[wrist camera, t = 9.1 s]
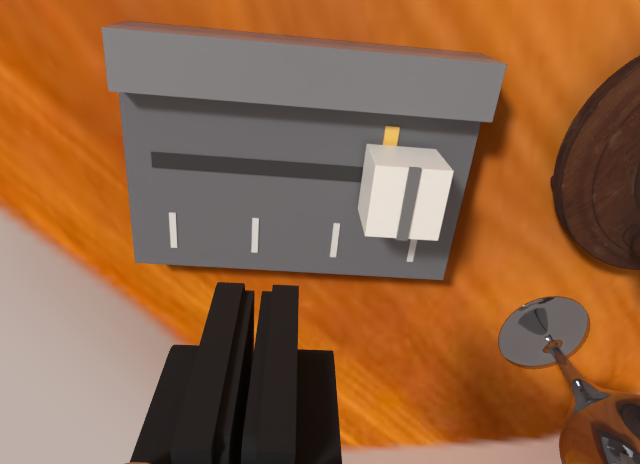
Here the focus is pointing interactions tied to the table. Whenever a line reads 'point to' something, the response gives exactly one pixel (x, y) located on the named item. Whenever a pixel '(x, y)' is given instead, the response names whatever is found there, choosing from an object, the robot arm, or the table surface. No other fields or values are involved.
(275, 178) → the console
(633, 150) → the scroll
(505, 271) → the table surface
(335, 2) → the table surface
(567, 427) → the wine glass
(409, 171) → the fader knob
